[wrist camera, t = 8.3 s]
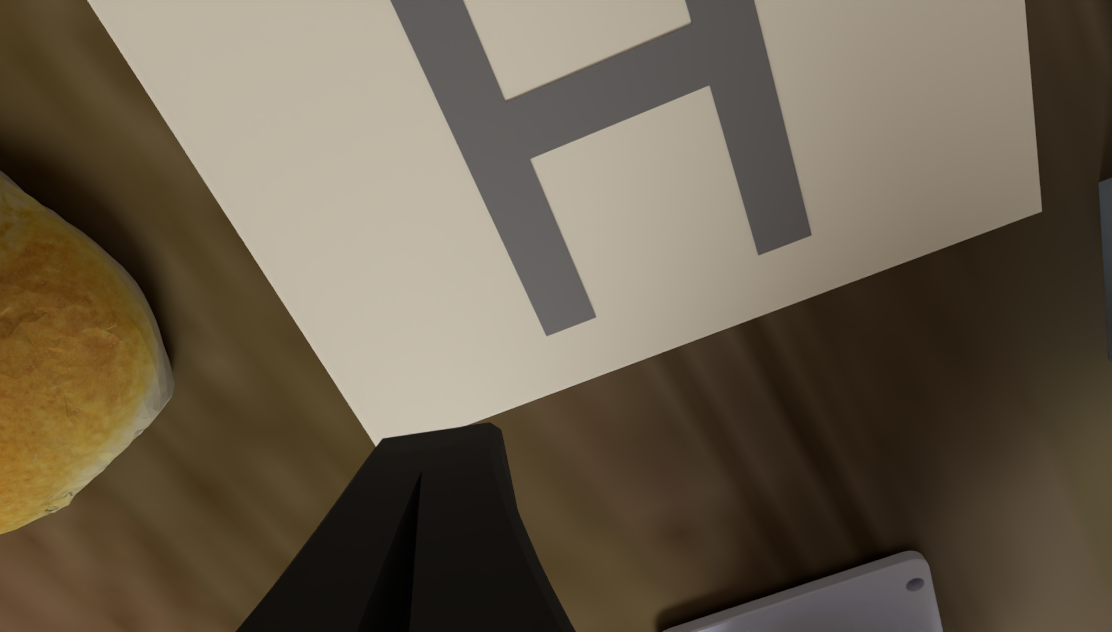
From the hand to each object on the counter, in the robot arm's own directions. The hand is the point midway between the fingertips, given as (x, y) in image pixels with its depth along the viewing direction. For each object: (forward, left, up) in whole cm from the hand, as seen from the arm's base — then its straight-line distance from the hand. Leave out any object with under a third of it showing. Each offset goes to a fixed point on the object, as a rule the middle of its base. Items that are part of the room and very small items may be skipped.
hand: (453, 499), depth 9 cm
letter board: (+2, -4, -8) cm, 9 cm away
